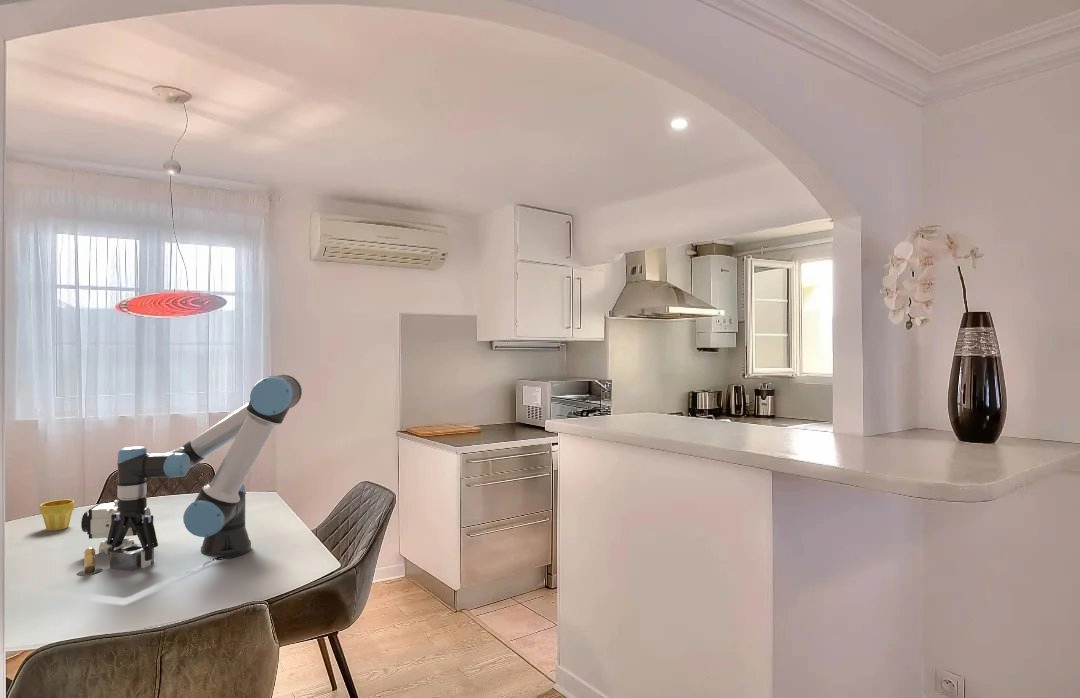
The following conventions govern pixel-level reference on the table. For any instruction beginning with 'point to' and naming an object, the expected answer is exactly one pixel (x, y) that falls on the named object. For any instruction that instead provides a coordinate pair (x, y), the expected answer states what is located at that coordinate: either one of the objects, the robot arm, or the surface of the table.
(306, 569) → the table surface
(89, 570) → the door knob
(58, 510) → the plant pot
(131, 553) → the grey square box
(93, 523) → the ball valve
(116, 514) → the robot arm
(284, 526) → the table surface
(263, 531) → the table surface
